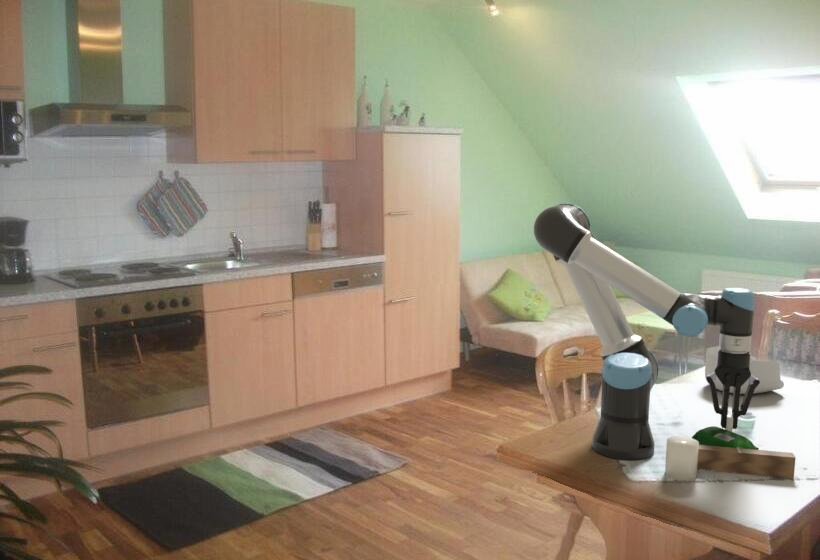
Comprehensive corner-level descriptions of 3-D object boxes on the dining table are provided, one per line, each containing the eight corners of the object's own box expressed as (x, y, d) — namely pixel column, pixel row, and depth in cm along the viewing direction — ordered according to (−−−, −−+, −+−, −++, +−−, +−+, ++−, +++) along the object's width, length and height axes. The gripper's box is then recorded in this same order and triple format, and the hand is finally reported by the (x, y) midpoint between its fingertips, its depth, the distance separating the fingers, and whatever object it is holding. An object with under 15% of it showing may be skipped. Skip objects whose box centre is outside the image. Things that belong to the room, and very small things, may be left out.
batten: (692, 468, 194) (694, 448, 193) (691, 464, 197) (693, 443, 196) (793, 478, 188) (795, 457, 188) (791, 473, 191) (792, 452, 190)
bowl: (691, 383, 265) (693, 347, 263) (740, 378, 270) (743, 343, 268) (732, 401, 246) (735, 363, 244) (785, 395, 252) (788, 358, 250)
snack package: (739, 466, 196) (741, 445, 195) (688, 445, 209) (690, 425, 208) (759, 461, 199) (761, 440, 198) (708, 440, 213) (709, 421, 212)
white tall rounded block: (665, 478, 188) (667, 445, 187) (664, 467, 195) (666, 434, 193) (698, 481, 186) (700, 448, 185) (695, 470, 193) (697, 437, 192)
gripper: (708, 352, 203) (702, 443, 207) (765, 355, 200) (757, 447, 204) (705, 345, 210) (699, 433, 214) (759, 348, 207) (752, 437, 211)
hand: (727, 440), depth 209 cm, fingers closed
